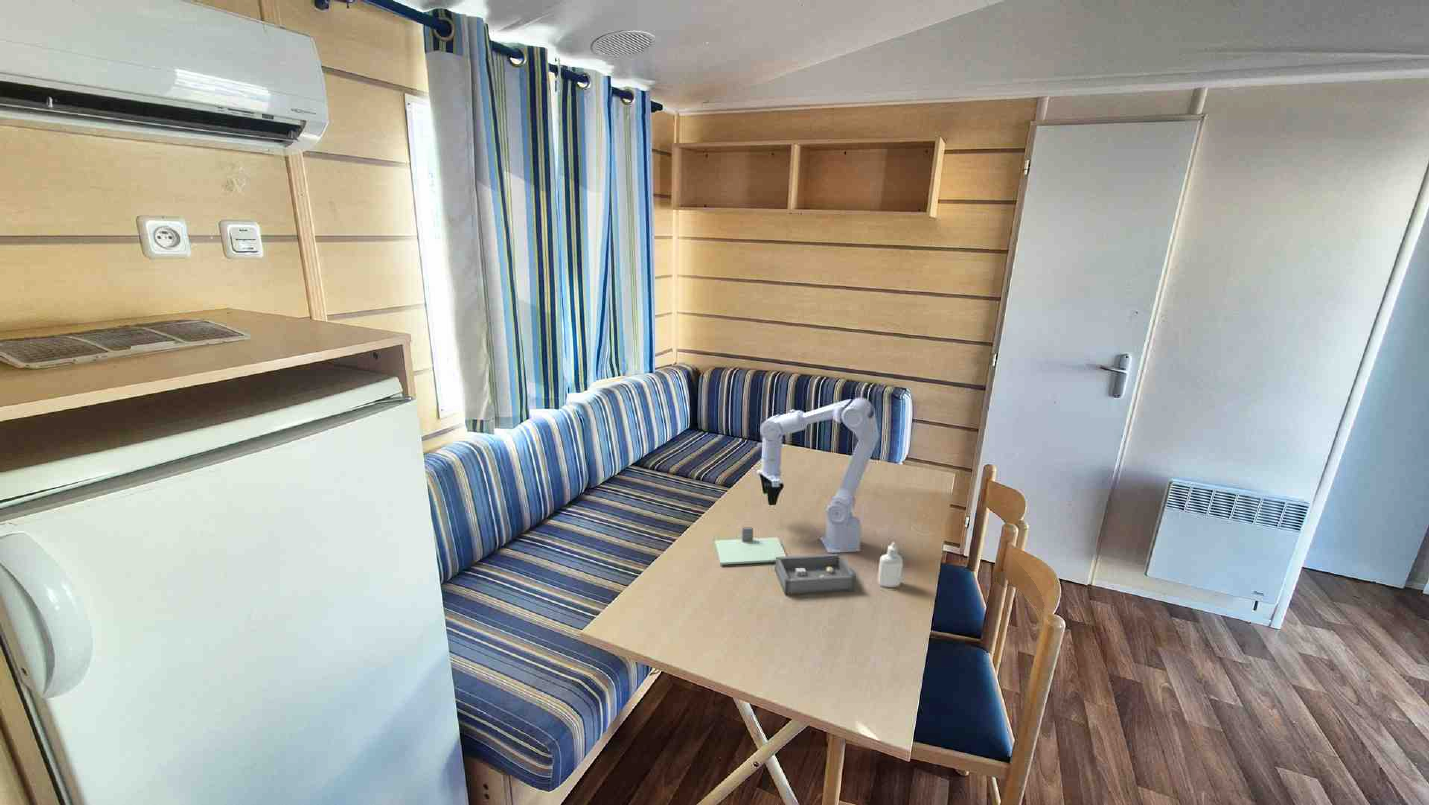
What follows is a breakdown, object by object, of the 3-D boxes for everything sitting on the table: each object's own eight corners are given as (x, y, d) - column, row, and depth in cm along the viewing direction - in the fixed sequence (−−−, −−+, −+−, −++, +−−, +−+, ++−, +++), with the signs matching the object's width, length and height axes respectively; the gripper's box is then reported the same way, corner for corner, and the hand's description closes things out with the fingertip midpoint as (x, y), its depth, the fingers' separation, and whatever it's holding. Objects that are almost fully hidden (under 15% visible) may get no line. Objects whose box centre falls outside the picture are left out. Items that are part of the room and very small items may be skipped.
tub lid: (777, 540, 169) (778, 525, 167) (787, 562, 158) (788, 546, 156) (714, 544, 166) (715, 528, 165) (720, 566, 155) (720, 549, 154)
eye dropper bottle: (898, 591, 146) (903, 549, 143) (875, 585, 148) (880, 544, 145) (901, 582, 150) (906, 541, 146) (879, 576, 152) (883, 536, 149)
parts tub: (839, 566, 156) (840, 553, 155) (854, 590, 146) (855, 577, 145) (775, 570, 154) (775, 557, 153) (785, 595, 144) (785, 581, 142)
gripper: (753, 448, 175) (751, 488, 179) (763, 467, 162) (761, 510, 166) (775, 447, 176) (773, 488, 180) (787, 466, 163) (785, 509, 166)
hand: (769, 498), depth 173 cm, fingers open, 7 cm apart
